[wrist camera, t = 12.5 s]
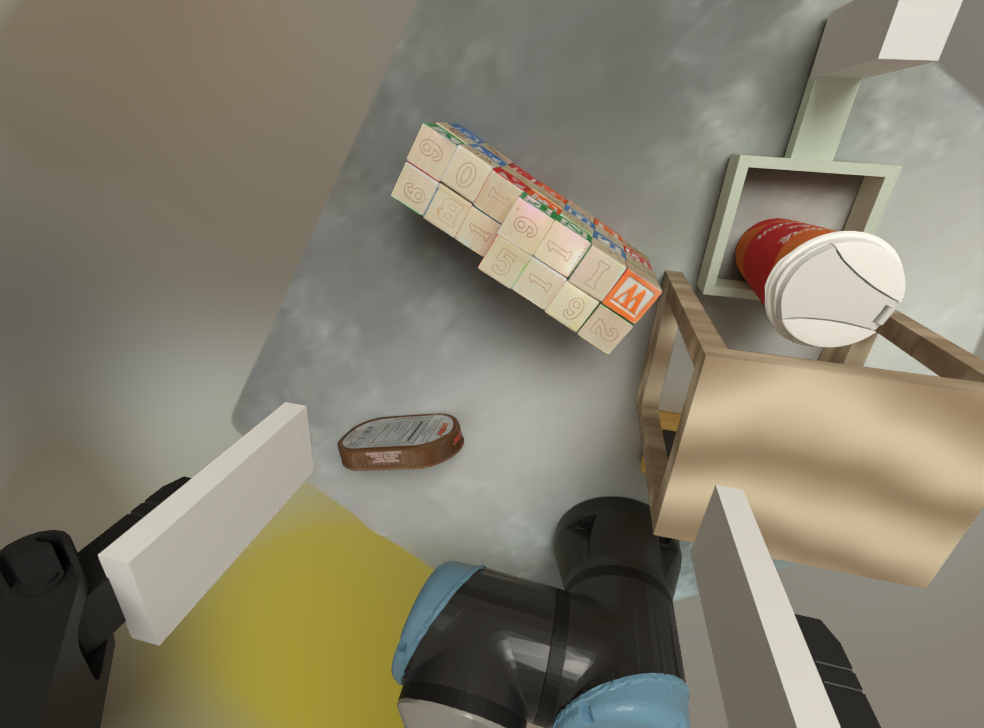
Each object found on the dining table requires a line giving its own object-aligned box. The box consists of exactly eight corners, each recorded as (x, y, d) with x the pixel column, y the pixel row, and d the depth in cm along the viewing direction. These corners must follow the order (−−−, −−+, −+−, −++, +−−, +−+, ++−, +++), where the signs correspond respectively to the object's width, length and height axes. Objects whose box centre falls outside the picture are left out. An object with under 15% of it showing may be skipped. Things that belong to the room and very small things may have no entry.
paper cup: (839, 225, 39) (948, 264, 27) (783, 305, 43) (855, 372, 30) (752, 190, 39) (821, 213, 27) (703, 272, 43) (743, 326, 31)
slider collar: (827, 299, 41) (888, 342, 33) (696, 284, 43) (720, 322, 34) (939, 16, 32) (1067, -31, 23) (768, 12, 34) (826, -32, 25)
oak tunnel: (808, 425, 47) (925, 588, 30) (636, 398, 50) (653, 534, 33) (865, 292, 41) (1056, 402, 24) (665, 270, 44) (705, 355, 26)
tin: (363, 435, 60) (329, 476, 53) (355, 414, 59) (320, 454, 52) (472, 428, 56) (452, 472, 49) (466, 406, 55) (445, 447, 48)
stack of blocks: (427, 184, 45) (371, 199, 34) (458, 122, 42) (407, 116, 31) (607, 307, 46) (609, 358, 36) (649, 255, 44) (665, 293, 33)
